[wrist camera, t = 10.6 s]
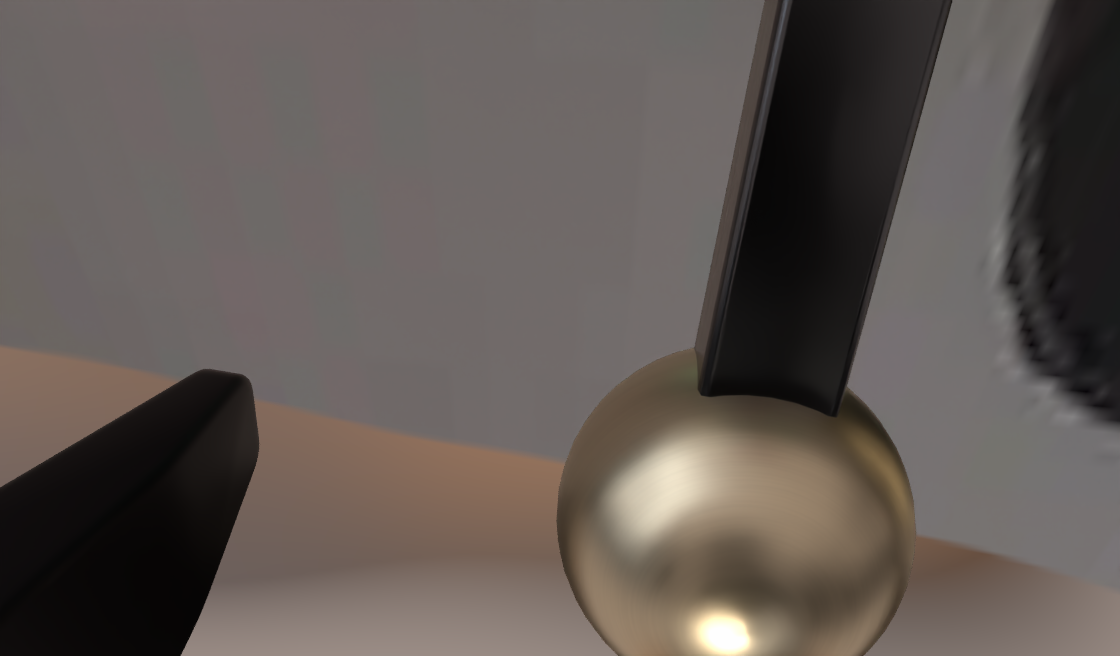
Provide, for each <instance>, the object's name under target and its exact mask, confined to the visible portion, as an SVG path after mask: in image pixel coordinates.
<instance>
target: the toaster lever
mask: <svg viewBox="0 0 1120 656" xmlns="http://www.w3.org/2000/svg"><path fill="white" fill-rule="evenodd" d="M951 4H952V0H765V2H764V7H763V12H762V17H761V21H760V26H759V31H758V36H757V41H756V46H755V51H754V56H753V61H752V66H751V71H750V76H749V81H748V86H747V91H746V96H745V100H744V105H743V110H742V115H741V120H740V125H739V130H738V135H737V140H736V145H735V150H734V155H733V160H732V165H731V170H730V175H729V179H728V184H727V189H726V194H725V199H724V204H723V209H722V214H721V219H720V224H719V229H718V234H717V239H716V244H715V249H714V254H713V259H712V263H711V268H710V273H709V278H708V283H707V288H706V293H705V298H704V303H703V308H702V313H701V318H700V323H699V328H698V333H697V338H696V342H695V347H694V348H691V349H687V350H683V351H679V352H676V353H673V354H670V355H668V356H665V357H663V358H660V359H658V360H655V361H654V362H652V363H650V364H648V365H646V366H645V367H643V368H641V369H639V370H638V371H636V372H635V373H633V374H632V375H630V376H629V377H628V378H626V379H625V380H624V381H622V382H621V383H620V384H618V385H617V386H616V387H615V388H614V389H613V390H612V391H611V392H610V393H608V394H607V395H606V396H605V397H604V398H603V399H602V400H601V402H600V403H599V404H598V405H597V407H596V408H595V409H594V410H593V412H592V413H591V414H590V416H589V417H588V419H587V420H586V421H585V423H584V425H583V426H582V428H581V430H580V432H579V433H578V435H577V437H576V438H575V440H574V442H573V445H572V447H571V450H570V452H569V455H568V458H567V460H566V463H565V466H564V470H563V474H562V478H561V482H560V487H559V495H558V508H557V532H558V542H559V548H560V554H561V558H562V562H563V567H564V571H565V574H566V576H567V579H568V581H569V584H570V587H571V589H572V591H573V594H574V596H575V599H576V601H577V603H578V605H579V606H580V608H581V610H582V612H583V613H584V615H585V617H586V618H587V620H588V621H589V622H590V624H591V625H592V626H593V628H594V629H595V630H596V632H597V633H598V634H599V636H600V637H601V638H602V640H603V641H604V642H605V643H606V644H607V645H608V646H609V647H610V648H611V649H612V650H613V651H614V652H615V653H616V654H617V655H618V656H864V655H865V654H866V653H867V652H868V651H869V650H870V649H871V647H872V646H873V645H874V644H875V643H876V642H877V640H878V639H879V638H880V637H881V635H882V634H883V633H884V632H885V630H886V629H887V627H888V625H889V623H890V622H891V620H892V618H893V617H894V615H895V613H896V611H897V609H898V607H899V605H900V603H901V600H902V598H903V595H904V593H905V591H906V588H907V585H908V581H909V577H910V573H911V569H912V564H913V559H914V551H915V539H916V527H915V513H914V500H913V496H912V492H911V488H910V484H909V480H908V477H907V474H906V471H905V468H904V465H903V463H902V460H901V458H900V455H899V453H898V451H897V448H896V447H895V445H894V443H893V442H892V440H891V438H890V437H889V435H888V433H887V432H886V430H885V429H884V427H883V425H882V424H881V422H880V421H879V419H878V418H877V417H876V416H875V414H874V413H873V412H872V411H871V410H870V408H869V407H868V406H867V405H866V404H865V403H864V402H863V401H862V400H861V399H860V398H859V397H858V396H857V395H855V394H854V393H853V392H852V391H851V390H850V389H849V388H848V387H847V384H848V380H849V376H850V373H851V369H852V365H853V362H854V358H855V354H856V351H857V347H858V343H859V340H860V336H861V332H862V329H863V325H864V321H865V318H866V314H867V310H868V307H869V303H870V300H871V296H872V292H873V289H874V285H875V281H876V278H877V274H878V270H879V267H880V263H881V259H882V256H883V252H884V248H885V245H886V241H887V237H888V234H889V230H890V226H891V223H892V219H893V216H894V212H895V208H896V205H897V201H898V197H899V194H900V190H901V186H902V183H903V179H904V175H905V172H906V168H907V164H908V161H909V157H910V153H911V150H912V146H913V142H914V139H915V135H916V132H917V128H918V124H919V121H920V117H921V113H922V110H923V106H924V102H925V99H926V95H927V91H928V88H929V84H930V80H931V77H932V73H933V69H934V66H935V62H936V58H937V55H938V51H939V48H940V44H941V40H942V37H943V33H944V29H945V26H946V22H947V18H948V15H949V11H950V7H951Z"/></svg>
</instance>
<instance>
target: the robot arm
mask: <svg viewBox="0 0 1120 656" xmlns="http://www.w3.org/2000/svg"><path fill="white" fill-rule="evenodd" d="M258 452H259V436H258V428H257V420H256V412H255V404H254V396H253V389H252V385H251V383H250V381H249V379H248V378H247V377H246V376H244V375H242V374H237V373H231V372H225V371H219V370H212V369H203V370H200V371H197V372H195V373H193V374H192V375H190V376H188V377H187V378H185V379H183V380H181V381H180V382H178V383H176V384H175V385H173V386H171V387H170V388H168V389H166V390H165V391H163V392H161V393H159V394H158V395H156V396H155V397H153V398H151V399H149V400H148V401H146V402H145V403H143V404H141V405H139V406H137V407H136V408H134V409H132V410H131V411H129V412H127V413H126V414H124V415H122V416H120V417H119V418H117V419H115V420H114V421H112V422H111V423H109V424H107V425H105V426H104V427H102V428H100V429H98V430H97V431H95V432H94V433H92V434H90V435H88V436H87V437H85V438H83V439H82V440H80V441H78V442H76V443H75V444H73V445H71V446H70V447H68V448H66V449H65V450H63V451H61V452H59V453H58V454H56V455H54V456H53V457H51V458H49V459H48V460H46V461H44V462H43V463H41V464H39V465H37V466H36V467H34V468H32V469H31V470H29V471H28V472H26V473H24V474H22V475H21V476H19V477H17V478H16V479H14V480H12V481H10V482H9V483H7V484H5V485H4V486H2V487H0V656H181V654H182V652H183V650H184V648H185V646H186V644H187V642H188V640H189V638H190V636H191V634H192V631H193V629H194V627H195V625H196V623H197V621H198V619H199V616H200V614H201V612H202V609H203V607H204V604H205V601H206V599H207V596H208V594H209V591H210V589H211V586H212V583H213V581H214V578H215V575H216V572H217V570H218V567H219V564H220V562H221V559H222V556H223V553H224V551H225V548H226V545H227V542H228V540H229V537H230V534H231V532H232V529H233V526H234V523H235V520H236V518H237V515H238V512H239V510H240V507H241V504H242V501H243V499H244V496H245V493H246V491H247V488H248V485H249V482H250V480H251V477H252V474H253V471H254V469H255V466H256V462H257V458H258Z"/></svg>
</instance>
